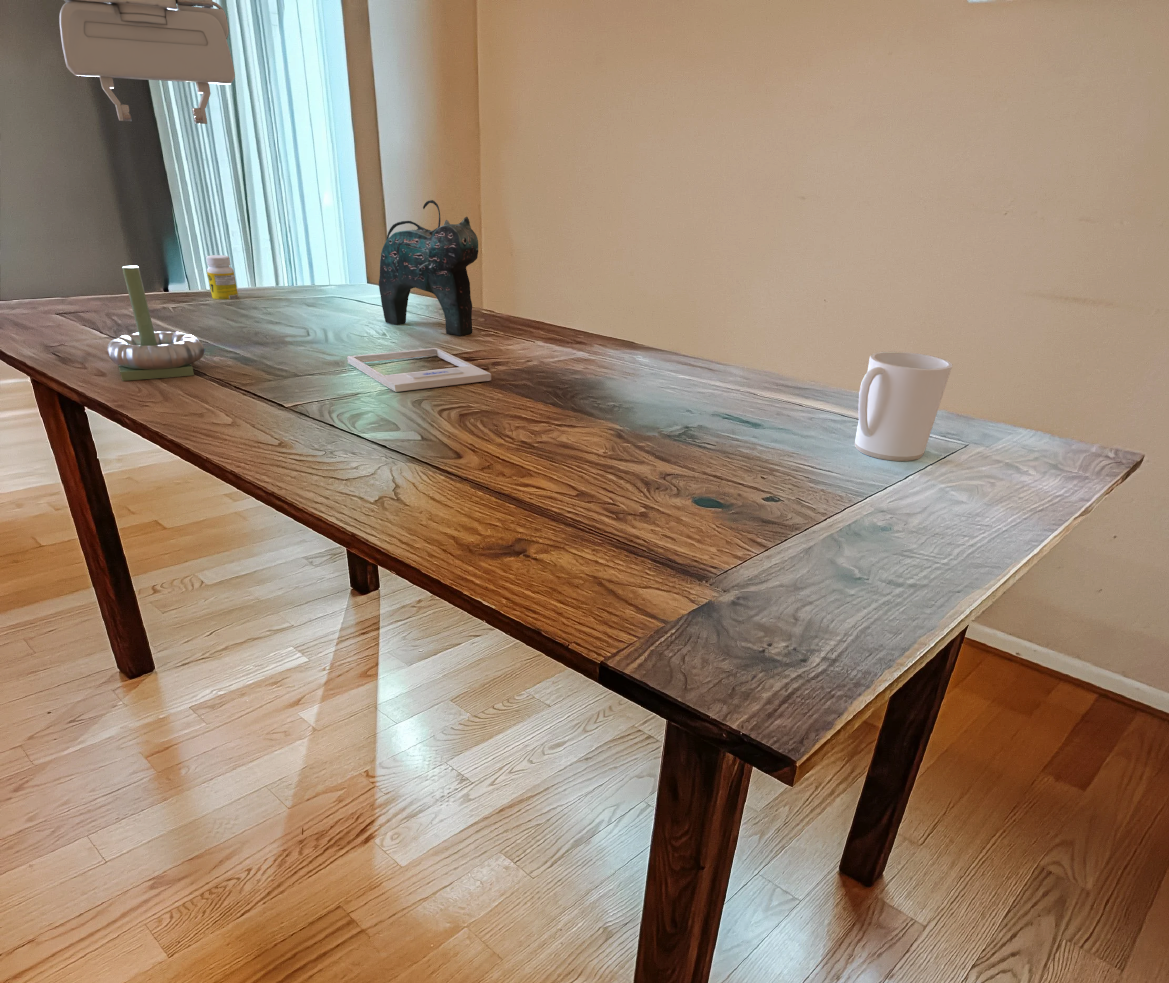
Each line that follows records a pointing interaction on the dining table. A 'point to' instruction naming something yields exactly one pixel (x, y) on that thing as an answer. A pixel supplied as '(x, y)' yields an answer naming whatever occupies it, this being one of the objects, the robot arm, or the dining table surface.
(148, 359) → the ring
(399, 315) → the ceramic cat
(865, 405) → the mug
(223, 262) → the supplement bottle
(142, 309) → the stand
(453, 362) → the photo frame
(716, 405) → the dining table surface
